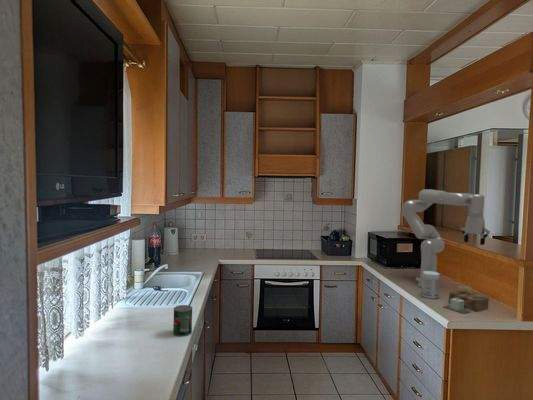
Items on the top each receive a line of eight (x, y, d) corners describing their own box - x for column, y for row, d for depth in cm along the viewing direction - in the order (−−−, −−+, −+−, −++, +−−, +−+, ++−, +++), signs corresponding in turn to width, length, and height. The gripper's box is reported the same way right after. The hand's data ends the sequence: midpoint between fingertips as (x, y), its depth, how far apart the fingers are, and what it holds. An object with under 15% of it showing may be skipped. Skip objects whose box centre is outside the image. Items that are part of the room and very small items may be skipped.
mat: (443, 307, 220) (443, 306, 220) (450, 305, 223) (450, 304, 223) (463, 314, 210) (463, 313, 210) (471, 312, 213) (471, 311, 213)
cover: (449, 308, 217) (450, 297, 217) (455, 306, 220) (455, 296, 220) (458, 310, 213) (459, 300, 213) (463, 309, 216) (464, 299, 216)
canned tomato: (169, 333, 171) (169, 308, 170) (183, 327, 177) (184, 303, 177) (181, 338, 166) (181, 312, 166) (195, 332, 172) (196, 307, 172)
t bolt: (457, 291, 231) (457, 285, 230) (463, 289, 234) (463, 284, 234) (469, 294, 225) (469, 289, 225) (474, 292, 228) (475, 287, 228)
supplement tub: (433, 294, 244) (435, 270, 243) (441, 299, 235) (443, 274, 234) (418, 294, 244) (419, 270, 243) (425, 299, 234) (427, 274, 233)
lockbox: (448, 303, 228) (449, 292, 227) (460, 300, 234) (461, 290, 234) (476, 311, 214) (476, 300, 214) (488, 308, 221) (488, 297, 220)
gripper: (458, 213, 242) (456, 241, 243) (487, 216, 227) (485, 246, 228) (465, 213, 246) (463, 240, 247) (494, 216, 231) (492, 245, 232)
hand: (474, 243), depth 237 cm, fingers open, 9 cm apart
